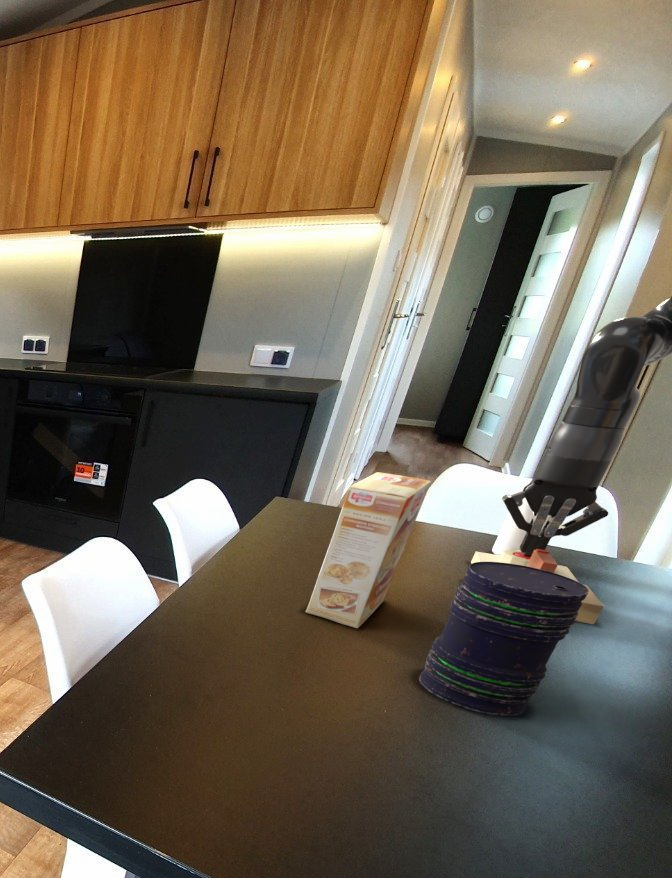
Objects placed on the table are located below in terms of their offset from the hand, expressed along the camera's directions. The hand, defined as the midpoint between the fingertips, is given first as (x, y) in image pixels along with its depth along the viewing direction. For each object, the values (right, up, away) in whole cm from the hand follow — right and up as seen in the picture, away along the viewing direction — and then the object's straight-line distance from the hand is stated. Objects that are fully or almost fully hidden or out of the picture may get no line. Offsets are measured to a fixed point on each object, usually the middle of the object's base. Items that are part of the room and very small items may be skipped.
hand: (528, 555), depth 108 cm
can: (+9, 0, +12) cm, 15 cm away
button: (0, -2, +1) cm, 2 cm away
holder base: (-8, -8, -7) cm, 14 cm away
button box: (0, -4, +2) cm, 4 cm away
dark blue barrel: (-41, -19, -32) cm, 55 cm away
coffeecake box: (-39, -9, -10) cm, 42 cm away
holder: (-8, -5, -9) cm, 13 cm away
